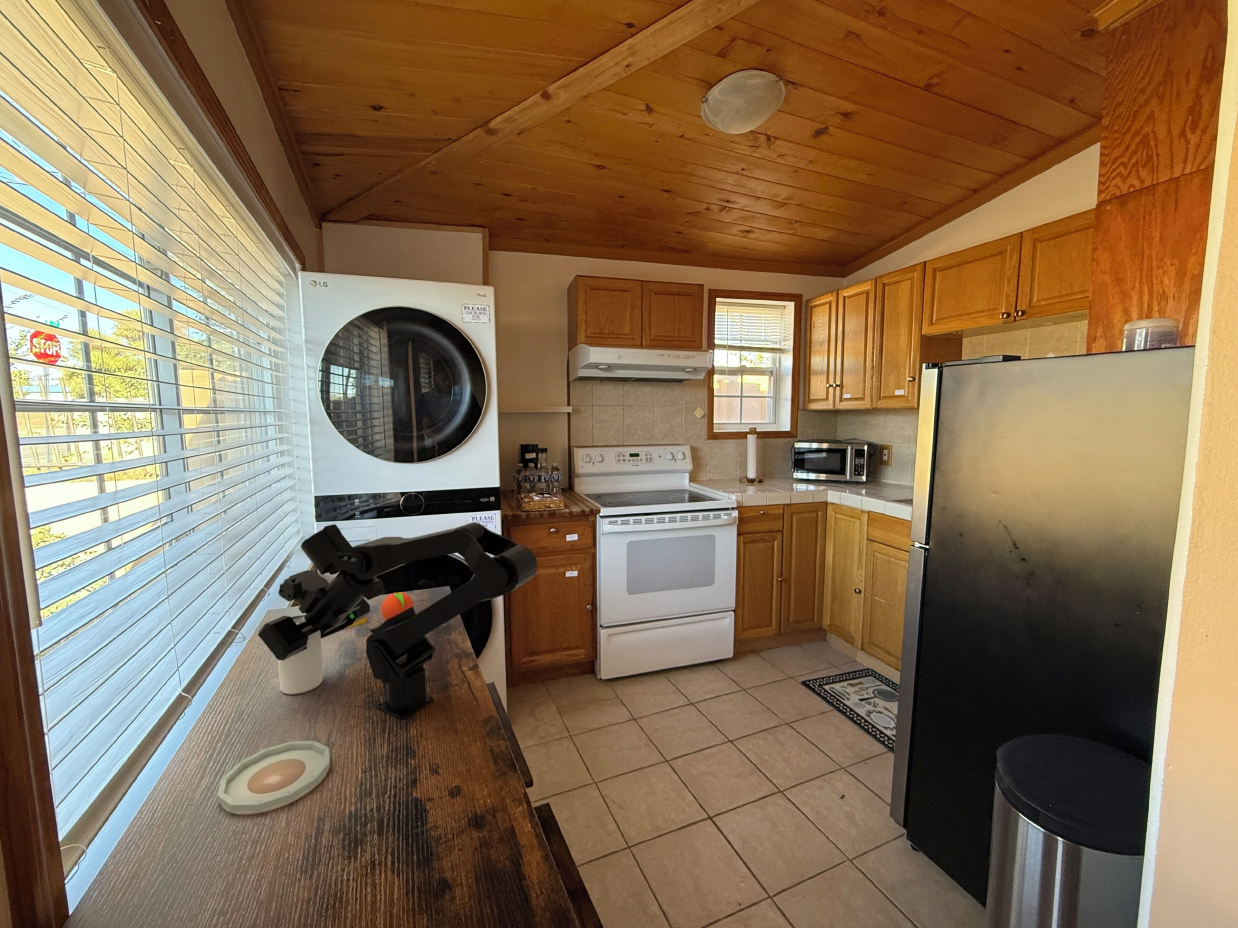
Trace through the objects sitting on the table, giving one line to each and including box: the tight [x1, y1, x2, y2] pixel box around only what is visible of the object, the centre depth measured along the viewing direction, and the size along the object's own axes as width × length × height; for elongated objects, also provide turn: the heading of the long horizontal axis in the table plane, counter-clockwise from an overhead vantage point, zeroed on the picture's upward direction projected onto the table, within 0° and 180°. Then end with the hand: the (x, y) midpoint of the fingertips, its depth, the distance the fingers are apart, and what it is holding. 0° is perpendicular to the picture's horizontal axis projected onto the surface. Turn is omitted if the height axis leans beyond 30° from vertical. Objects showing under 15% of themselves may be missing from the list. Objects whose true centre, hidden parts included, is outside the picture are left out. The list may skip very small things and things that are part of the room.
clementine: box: [380, 591, 415, 621], centre depth 118 cm, size 8×7×7 cm
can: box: [277, 614, 324, 696], centre depth 89 cm, size 6×6×12 cm
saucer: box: [216, 740, 331, 816], centre depth 67 cm, size 12×12×1 cm
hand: (293, 648), depth 90 cm, fingers closed on can, 6 cm apart
